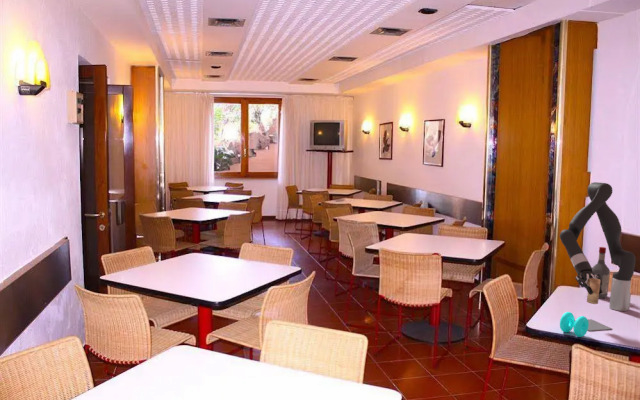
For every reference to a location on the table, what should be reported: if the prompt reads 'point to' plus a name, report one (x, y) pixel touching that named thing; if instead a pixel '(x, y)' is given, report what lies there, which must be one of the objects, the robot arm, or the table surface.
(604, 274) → the liquor
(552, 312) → the table surface
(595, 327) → the slate pad
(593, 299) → the oak roller
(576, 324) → the turquoise spool
